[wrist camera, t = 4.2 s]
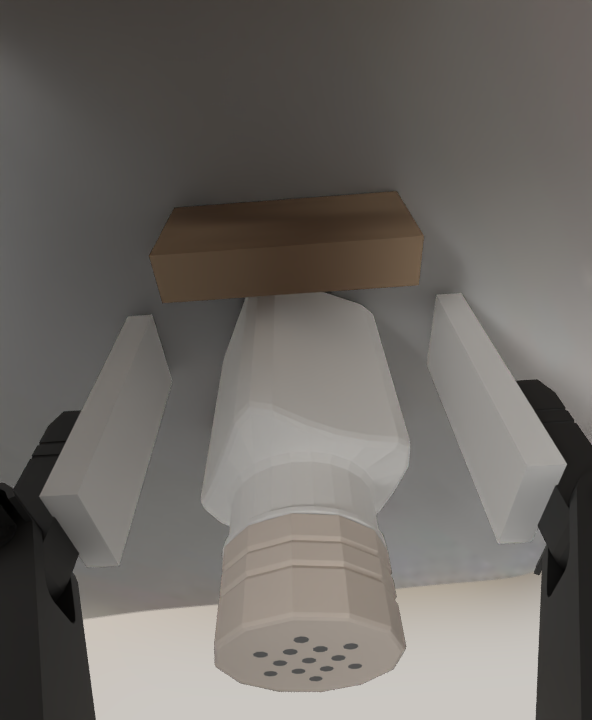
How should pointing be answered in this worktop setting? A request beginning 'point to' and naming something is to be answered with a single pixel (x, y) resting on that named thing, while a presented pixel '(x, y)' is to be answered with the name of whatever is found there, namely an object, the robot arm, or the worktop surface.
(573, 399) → the worktop surface
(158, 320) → the worktop surface
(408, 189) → the worktop surface
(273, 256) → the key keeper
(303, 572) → the pepper shaker
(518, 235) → the worktop surface
